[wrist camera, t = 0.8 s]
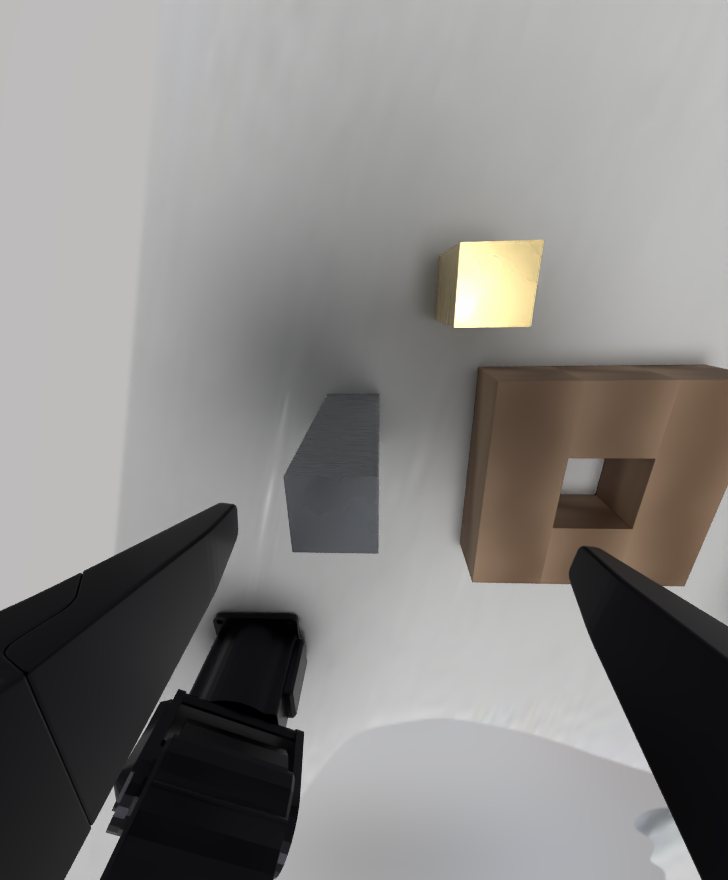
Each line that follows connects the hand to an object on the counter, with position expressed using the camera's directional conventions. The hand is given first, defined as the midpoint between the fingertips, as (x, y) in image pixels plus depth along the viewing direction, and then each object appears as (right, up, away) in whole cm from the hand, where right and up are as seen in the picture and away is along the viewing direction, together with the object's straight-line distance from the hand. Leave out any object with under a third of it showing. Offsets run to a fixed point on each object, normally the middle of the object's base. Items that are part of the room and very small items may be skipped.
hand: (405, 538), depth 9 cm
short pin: (+4, +10, +9) cm, 14 cm away
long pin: (-2, +4, +12) cm, 12 cm away
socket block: (+11, +1, +12) cm, 17 cm away
